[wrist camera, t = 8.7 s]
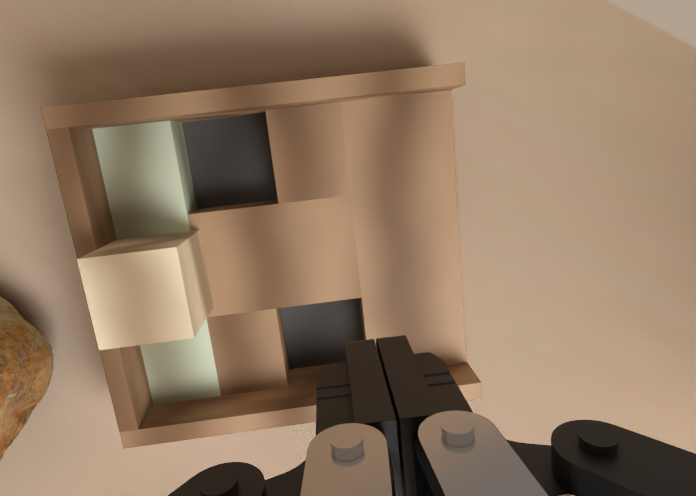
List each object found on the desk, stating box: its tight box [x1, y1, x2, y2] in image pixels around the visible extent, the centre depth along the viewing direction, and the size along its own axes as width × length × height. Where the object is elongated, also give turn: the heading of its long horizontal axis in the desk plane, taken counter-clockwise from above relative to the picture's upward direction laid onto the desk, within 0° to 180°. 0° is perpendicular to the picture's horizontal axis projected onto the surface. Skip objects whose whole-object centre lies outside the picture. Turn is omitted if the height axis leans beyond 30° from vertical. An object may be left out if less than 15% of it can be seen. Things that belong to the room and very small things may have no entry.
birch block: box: [77, 230, 213, 350], centre depth 24 cm, size 4×4×4 cm
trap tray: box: [41, 63, 482, 448], centre depth 27 cm, size 20×18×5 cm
